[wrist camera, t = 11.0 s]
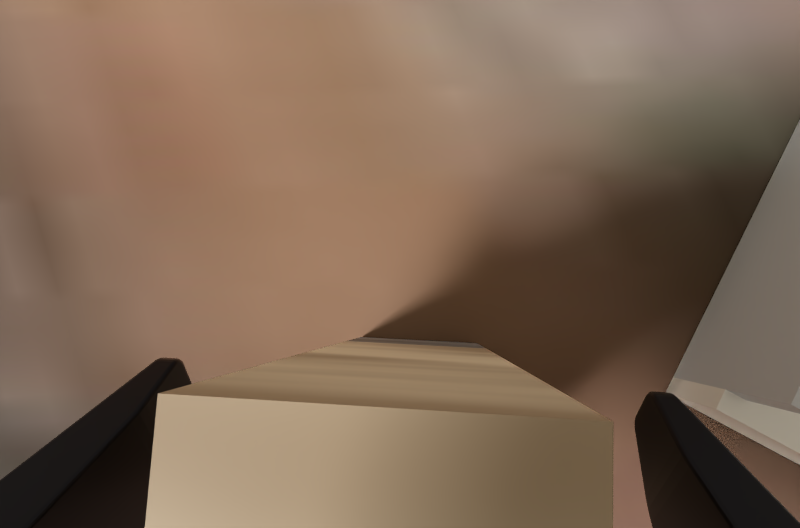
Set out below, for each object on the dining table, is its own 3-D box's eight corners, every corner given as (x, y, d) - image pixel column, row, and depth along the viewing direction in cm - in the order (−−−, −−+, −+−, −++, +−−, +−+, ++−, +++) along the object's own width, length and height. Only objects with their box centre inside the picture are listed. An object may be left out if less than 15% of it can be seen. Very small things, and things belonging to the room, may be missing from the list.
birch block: (472, 463, 17) (610, 959, 4) (354, 455, 17) (109, 891, 4) (476, 342, 17) (614, 422, 4) (361, 337, 17) (157, 392, 4)
